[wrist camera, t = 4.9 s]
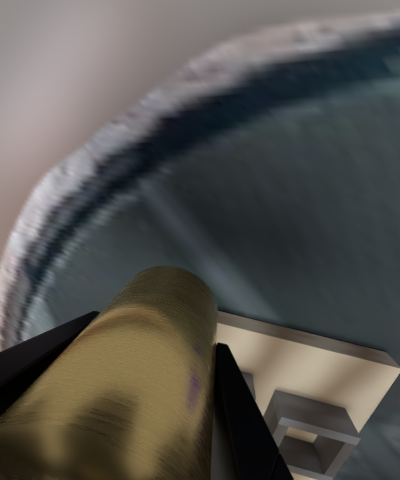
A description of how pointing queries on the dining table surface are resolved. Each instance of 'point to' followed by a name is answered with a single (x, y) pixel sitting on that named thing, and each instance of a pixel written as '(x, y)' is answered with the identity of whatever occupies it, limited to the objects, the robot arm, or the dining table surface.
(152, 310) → the cylinder
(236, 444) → the robot arm
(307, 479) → the board
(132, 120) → the dining table surface
